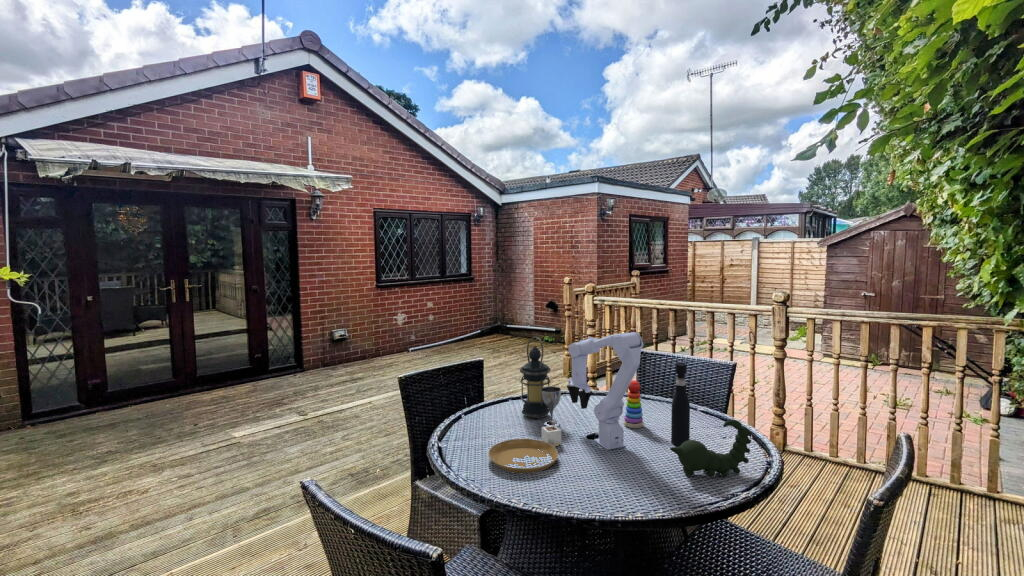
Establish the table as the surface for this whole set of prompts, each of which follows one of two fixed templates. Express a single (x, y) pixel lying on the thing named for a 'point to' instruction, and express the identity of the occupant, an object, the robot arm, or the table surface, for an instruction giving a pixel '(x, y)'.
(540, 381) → the lantern
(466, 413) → the table surface
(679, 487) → the table surface
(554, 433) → the collar
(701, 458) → the toy figurine
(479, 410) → the table surface
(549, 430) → the post stand
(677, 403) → the wine bottle
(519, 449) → the plant saucer
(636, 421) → the stacking toy
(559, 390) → the wine glass
